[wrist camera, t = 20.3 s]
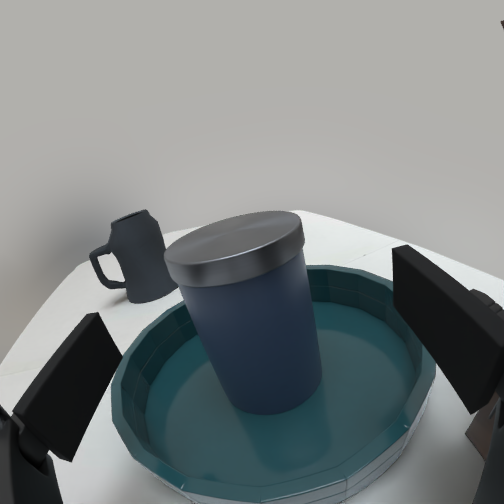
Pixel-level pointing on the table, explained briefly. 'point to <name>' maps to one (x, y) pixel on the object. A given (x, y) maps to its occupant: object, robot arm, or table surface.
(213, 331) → the tin
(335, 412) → the round teal tray
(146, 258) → the mug
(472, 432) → the brown wooden block
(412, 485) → the table surface
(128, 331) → the table surface
